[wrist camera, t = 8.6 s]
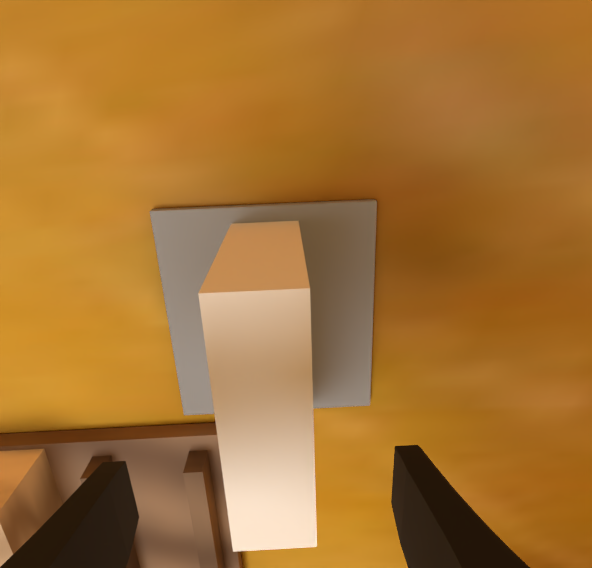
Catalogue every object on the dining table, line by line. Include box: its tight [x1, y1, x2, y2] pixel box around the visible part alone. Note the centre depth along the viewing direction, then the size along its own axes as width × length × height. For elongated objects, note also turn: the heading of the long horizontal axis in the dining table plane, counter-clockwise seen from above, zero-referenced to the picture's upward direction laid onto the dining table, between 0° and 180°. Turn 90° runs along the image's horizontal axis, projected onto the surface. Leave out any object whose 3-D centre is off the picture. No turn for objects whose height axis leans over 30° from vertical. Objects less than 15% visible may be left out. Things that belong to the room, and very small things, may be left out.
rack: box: [0, 422, 243, 568], centre depth 25 cm, size 16×14×2 cm
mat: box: [150, 199, 377, 415], centre depth 21 cm, size 11×10×1 cm
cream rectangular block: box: [198, 221, 317, 552], centre depth 17 cm, size 10×3×8 cm, turn 2°
